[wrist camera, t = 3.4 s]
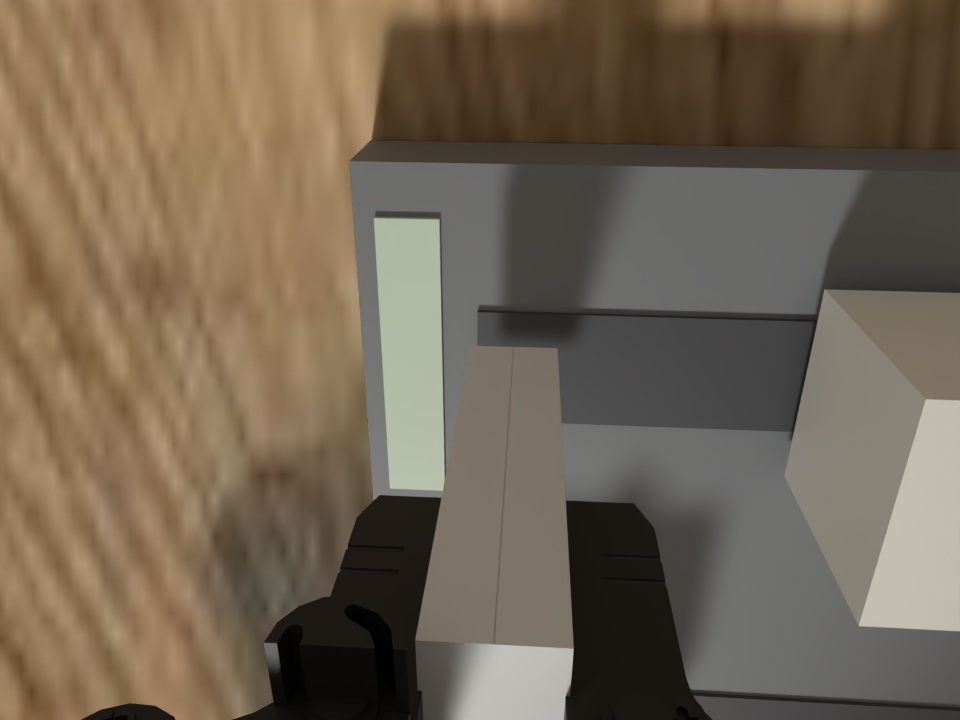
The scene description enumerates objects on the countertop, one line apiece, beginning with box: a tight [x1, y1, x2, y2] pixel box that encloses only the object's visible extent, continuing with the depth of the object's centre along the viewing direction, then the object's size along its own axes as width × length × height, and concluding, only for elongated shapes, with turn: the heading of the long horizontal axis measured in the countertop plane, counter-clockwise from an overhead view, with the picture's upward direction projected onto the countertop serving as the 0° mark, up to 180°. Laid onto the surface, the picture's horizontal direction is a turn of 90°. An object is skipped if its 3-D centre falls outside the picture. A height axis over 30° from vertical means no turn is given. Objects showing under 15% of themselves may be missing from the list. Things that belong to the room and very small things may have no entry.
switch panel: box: [349, 140, 960, 720], centre depth 18 cm, size 18×21×2 cm
